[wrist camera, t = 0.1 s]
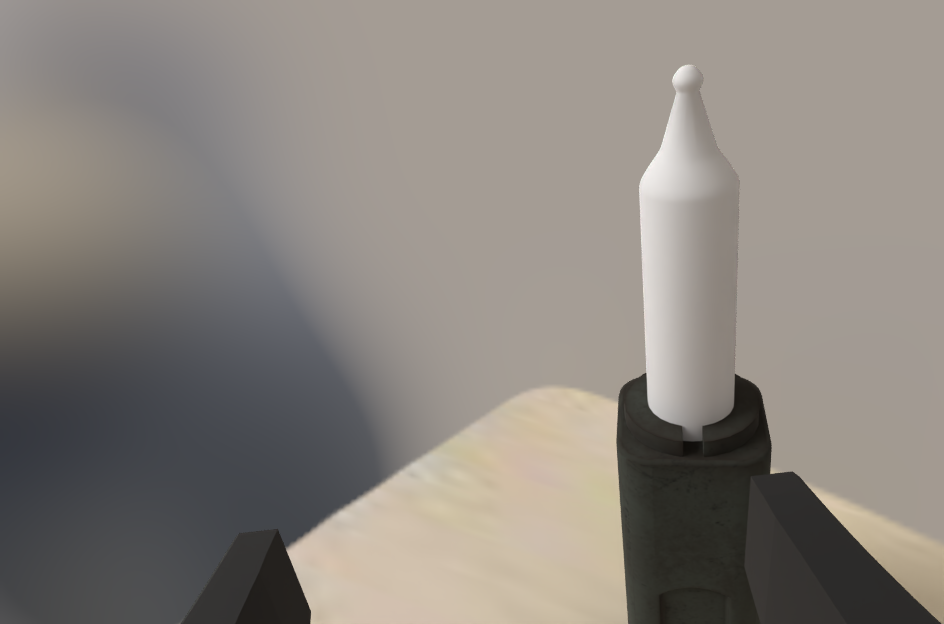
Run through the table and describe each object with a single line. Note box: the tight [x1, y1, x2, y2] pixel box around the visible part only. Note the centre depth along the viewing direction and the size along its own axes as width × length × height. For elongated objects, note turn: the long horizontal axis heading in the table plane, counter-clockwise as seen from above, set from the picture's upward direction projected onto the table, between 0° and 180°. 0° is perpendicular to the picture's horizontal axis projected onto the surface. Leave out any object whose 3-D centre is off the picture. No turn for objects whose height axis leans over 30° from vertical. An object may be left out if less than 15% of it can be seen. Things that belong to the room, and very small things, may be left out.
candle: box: [616, 65, 771, 624], centre depth 29 cm, size 5×5×25 cm
